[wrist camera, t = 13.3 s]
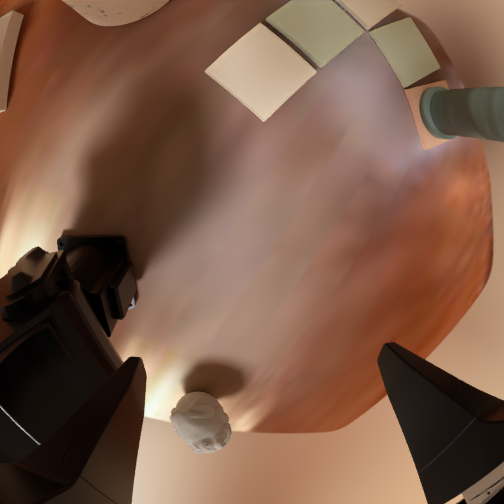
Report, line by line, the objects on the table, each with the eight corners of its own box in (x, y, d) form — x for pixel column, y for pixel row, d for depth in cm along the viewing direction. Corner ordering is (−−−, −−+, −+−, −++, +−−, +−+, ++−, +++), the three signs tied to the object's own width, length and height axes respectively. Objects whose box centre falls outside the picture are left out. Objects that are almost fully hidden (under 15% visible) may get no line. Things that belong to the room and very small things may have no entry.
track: (202, 119, 17) (201, 119, 17) (220, -56, 11) (220, -60, 10) (455, 159, 20) (459, 160, 20) (450, 13, 14) (453, 12, 13)
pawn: (413, 119, 18) (547, 129, 6) (426, 77, 16) (548, 66, 4) (447, 148, 19) (566, 177, 7) (459, 107, 17) (572, 118, 5)
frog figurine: (200, 417, 30) (200, 464, 23) (160, 390, 27) (153, 441, 20) (240, 401, 29) (246, 451, 22) (201, 371, 26) (201, 427, 20)
